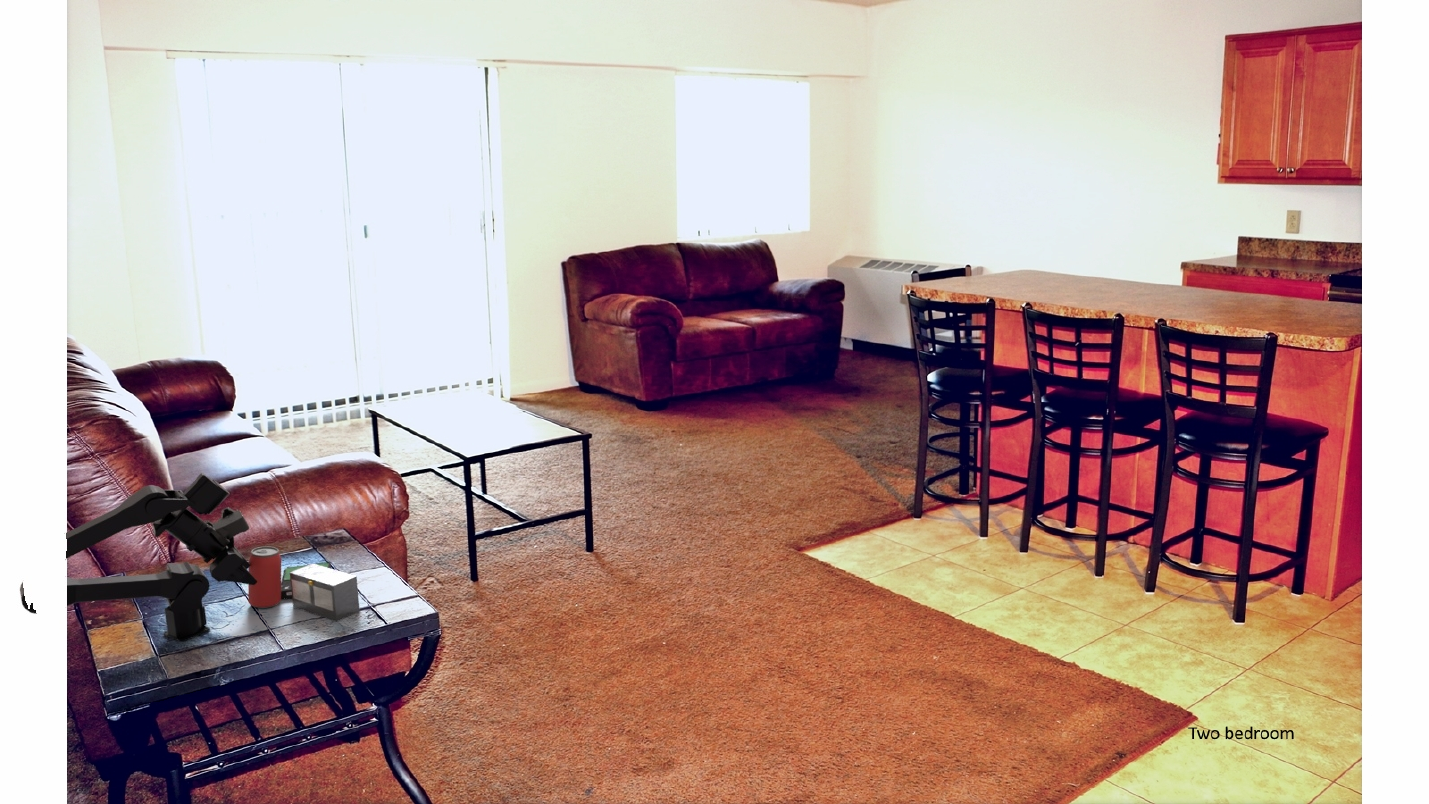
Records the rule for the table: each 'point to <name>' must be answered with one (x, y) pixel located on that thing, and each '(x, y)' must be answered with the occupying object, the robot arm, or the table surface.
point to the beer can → (265, 577)
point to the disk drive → (286, 582)
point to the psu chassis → (324, 592)
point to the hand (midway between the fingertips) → (252, 575)
